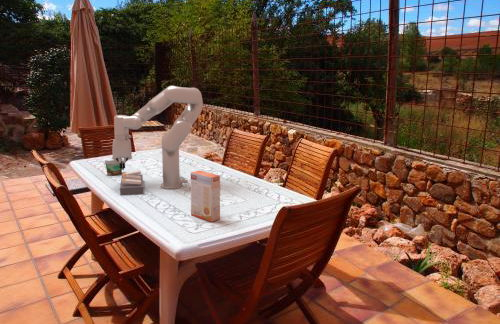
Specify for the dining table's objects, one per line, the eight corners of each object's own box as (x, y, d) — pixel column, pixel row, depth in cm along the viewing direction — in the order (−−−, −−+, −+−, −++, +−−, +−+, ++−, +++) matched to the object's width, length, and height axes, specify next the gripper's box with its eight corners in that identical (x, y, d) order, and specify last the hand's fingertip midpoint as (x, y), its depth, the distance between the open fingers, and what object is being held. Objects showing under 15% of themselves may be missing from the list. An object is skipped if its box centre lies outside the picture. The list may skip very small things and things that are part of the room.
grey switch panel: (142, 179, 246) (142, 172, 245) (143, 193, 216) (143, 186, 215) (122, 180, 243) (122, 173, 242) (120, 195, 213) (120, 188, 212)
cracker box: (220, 219, 181) (220, 175, 176) (211, 222, 176) (210, 177, 172) (200, 212, 190) (200, 169, 185) (190, 215, 185) (189, 171, 181)
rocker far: (140, 172, 238) (140, 169, 238) (140, 174, 234) (140, 171, 234) (123, 175, 236) (123, 173, 236) (123, 177, 232) (122, 174, 232)
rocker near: (140, 182, 222) (141, 179, 221) (140, 184, 218) (141, 181, 218) (122, 181, 219) (122, 178, 218) (121, 182, 215) (122, 180, 215)
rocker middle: (140, 178, 230) (140, 175, 230) (140, 180, 226) (141, 177, 226) (122, 177, 227) (122, 174, 227) (122, 178, 223) (122, 176, 223)
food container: (111, 177, 249) (110, 161, 246) (105, 175, 252) (104, 160, 250) (127, 173, 258) (126, 158, 256) (121, 172, 262) (121, 157, 260)
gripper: (135, 136, 226) (136, 167, 230) (107, 136, 222) (108, 168, 226) (135, 138, 219) (136, 170, 223) (107, 138, 215) (107, 171, 219)
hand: (122, 169), depth 224 cm, fingers closed
